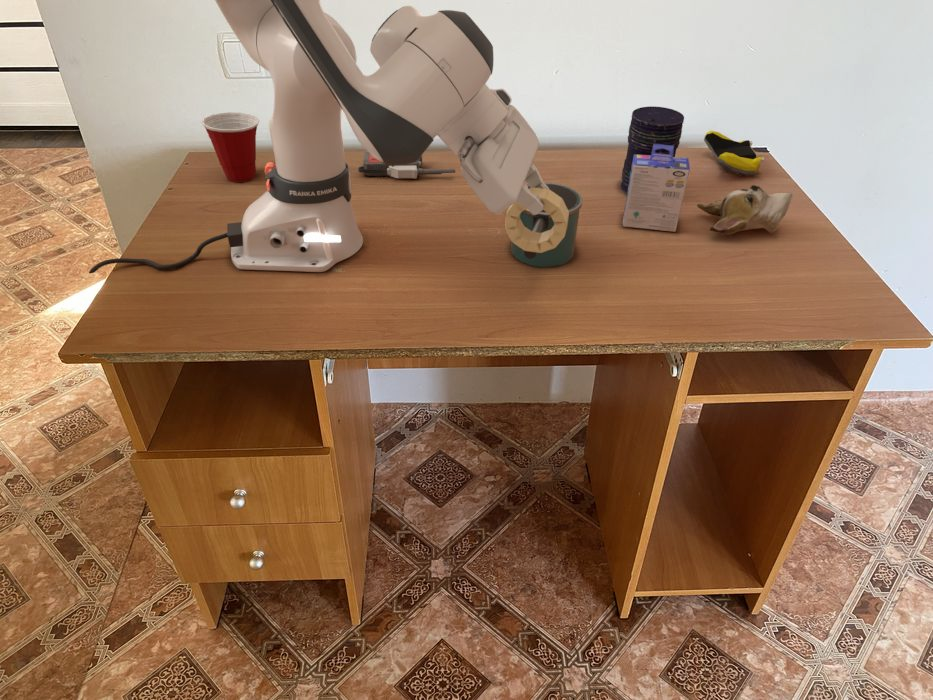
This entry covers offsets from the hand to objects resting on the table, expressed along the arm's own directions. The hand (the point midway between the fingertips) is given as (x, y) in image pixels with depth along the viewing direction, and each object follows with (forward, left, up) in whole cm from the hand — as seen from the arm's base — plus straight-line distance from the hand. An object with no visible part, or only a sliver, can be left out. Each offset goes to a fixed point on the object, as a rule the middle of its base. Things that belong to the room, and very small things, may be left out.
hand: (542, 202), depth 93 cm
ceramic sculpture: (+44, +21, -19) cm, 52 cm away
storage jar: (+32, +39, -19) cm, 53 cm away
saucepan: (+4, +13, -18) cm, 23 cm away
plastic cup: (-49, +55, -19) cm, 76 cm away
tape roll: (-1, 0, -7) cm, 7 cm away
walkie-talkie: (-15, +53, -19) cm, 58 cm away
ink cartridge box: (+28, +25, -19) cm, 41 cm away
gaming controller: (+54, +47, -19) cm, 74 cm away
